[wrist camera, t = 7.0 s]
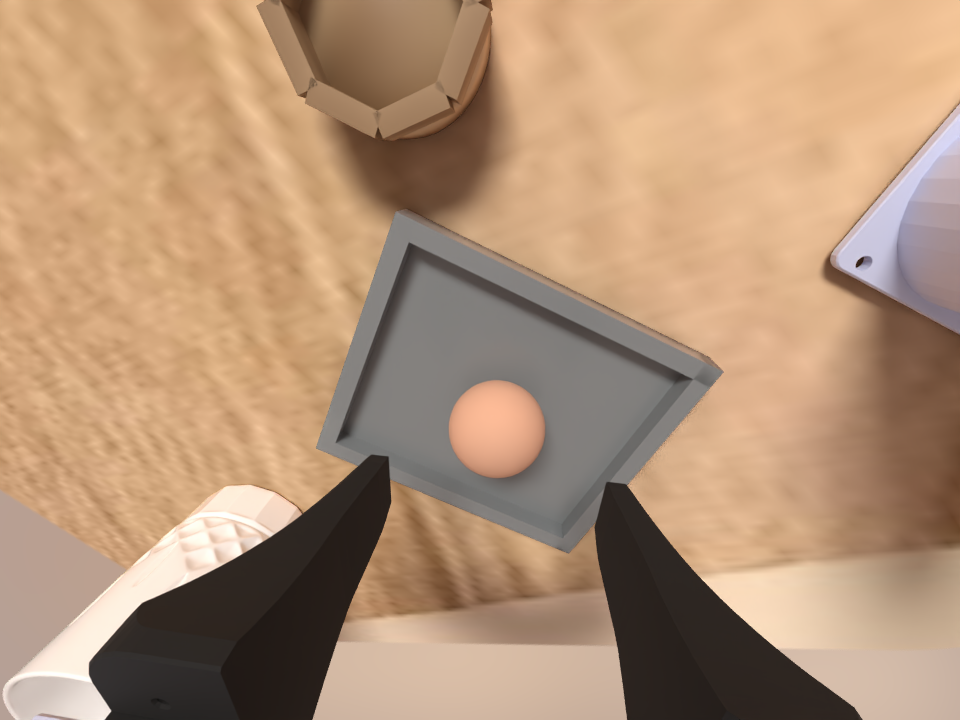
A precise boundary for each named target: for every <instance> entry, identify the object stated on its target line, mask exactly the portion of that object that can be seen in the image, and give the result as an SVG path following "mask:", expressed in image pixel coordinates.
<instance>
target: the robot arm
mask: <svg viewBox="0 0 960 720" xmlns="http://www.w3.org/2000/svg"><path fill="white" fill-rule="evenodd" d="M861 257H864V261H863V263H862V264H861V265H860V266H859V267H857V268H856V263H857V261H858V260H859V259H860V258H861ZM830 262H831V265H832V266H833V267H834V268H836V269H838V270H840V271H842V272H844V273H845V274H847V275H849V276H851V277H853V278H855V279H857V280H858V281H860V282H862V283H864V284H866V285H868V286H870V287H872V288H873V289H875V290H877V291H879V292H881V293H883V294H885V295H886V296H888V297H890V298H892V299H894V300H896V301H898V302H899V303H901V304H903V305H905V306H907V307H909V308H911V309H913V310H914V311H916V312H918V313H920V314H922V315H924V316H926V317H927V318H929V319H931V320H933V321H935V322H937V323H939V324H940V325H942V326H944V327H946V328H948V329H950V330H952V331H954V332H955V333H957V334H959V335H960V104H959V105H958V106H957V107H956V109H955V110H954V111H953V112H952V113H951V114H950V116H949V117H948V118H947V119H946V120H945V121H944V123H943V124H942V125H941V126H940V127H939V128H938V130H937V131H936V132H935V133H934V134H933V135H932V137H931V138H930V139H929V140H928V141H927V142H926V143H925V145H924V146H923V147H922V148H921V149H920V150H919V152H918V153H917V154H916V155H915V156H914V157H913V159H912V160H911V161H910V162H909V163H908V164H907V166H906V167H905V168H904V169H903V170H902V171H901V173H900V174H899V175H898V176H897V177H896V178H895V180H894V181H893V182H892V183H891V184H890V185H889V187H888V188H887V189H886V190H885V191H884V192H883V193H882V195H881V196H880V197H879V198H878V199H877V200H876V202H875V203H874V204H873V205H872V206H871V207H870V209H869V210H868V211H867V212H866V213H865V214H864V216H863V217H862V218H861V219H860V220H859V221H858V223H857V224H856V225H855V226H854V227H853V228H852V230H851V231H850V232H849V233H848V234H847V235H846V236H845V238H844V239H843V240H842V241H841V242H840V243H839V245H838V246H837V247H836V248H835V249H834V251H833V252H832V254H831V258H830ZM390 504H391V488H390V469H389V456H381V455H372V454H371V455H370V456H368V457H367V458H366V459H365V460H364V461H363V462H362V463H361V464H360V465H359V466H358V467H357V468H356V469H354V470H353V471H352V472H351V473H350V474H349V475H348V476H347V477H346V478H345V479H344V480H343V481H341V482H340V483H339V484H338V485H337V486H336V487H335V488H333V489H332V490H331V491H330V492H329V493H328V494H327V495H325V496H324V497H323V498H322V499H321V500H319V501H318V502H317V503H316V504H314V505H313V506H312V507H311V508H309V509H308V510H307V511H306V512H304V513H303V514H302V515H301V516H299V517H298V518H297V519H295V520H294V521H293V522H291V523H290V524H288V525H287V526H286V527H284V528H283V529H281V530H280V531H278V532H277V533H275V534H274V535H273V536H271V537H269V538H268V539H266V540H265V541H263V542H261V543H260V544H258V545H256V546H255V547H253V548H251V549H250V550H248V551H246V552H245V553H243V554H241V555H240V556H238V557H236V558H235V559H233V560H231V561H229V562H227V563H225V564H223V565H222V566H220V567H218V568H216V569H214V570H212V571H210V572H208V573H206V574H204V575H202V576H200V577H198V578H196V579H194V580H192V581H190V582H188V583H186V584H183V585H181V586H179V587H177V588H174V589H172V590H170V591H168V592H165V593H163V594H161V595H159V596H156V597H154V598H152V599H150V600H147V601H145V602H142V603H141V604H140V605H139V606H138V607H137V608H136V610H135V611H134V612H133V613H132V614H131V615H130V616H129V617H128V618H127V619H126V620H125V621H124V622H123V624H122V625H121V626H120V627H119V628H118V629H117V630H116V632H115V633H114V634H113V635H112V636H111V637H110V638H109V639H108V641H107V642H106V643H105V644H104V645H103V646H102V647H101V649H100V650H99V651H98V652H97V653H96V654H95V655H94V656H93V658H92V659H91V660H90V662H89V676H90V679H91V681H92V683H93V684H94V686H95V687H96V689H97V690H98V692H99V693H100V695H101V696H102V698H103V699H104V701H105V702H106V704H107V705H108V707H109V708H110V710H111V712H110V713H109V715H108V716H107V717H106V719H105V720H312V719H313V715H314V713H315V709H316V706H317V702H318V699H319V696H320V693H321V690H322V687H323V683H324V680H325V677H326V674H327V671H328V668H329V665H330V661H331V658H332V655H333V652H334V649H335V646H336V643H337V640H338V637H339V634H340V631H341V628H342V625H343V623H344V620H345V617H346V614H347V611H348V608H349V606H350V603H351V601H352V598H353V596H354V594H355V591H356V589H357V587H358V585H359V582H360V580H361V578H362V576H363V573H364V571H365V569H366V567H367V565H368V562H369V560H370V558H371V556H372V553H373V551H374V549H375V547H376V544H377V542H378V540H379V537H380V535H381V533H382V530H383V527H384V524H385V521H386V518H387V514H388V511H389V508H390ZM595 536H596V546H597V554H598V561H599V566H600V570H601V575H602V579H603V583H604V588H605V592H606V596H607V601H608V605H609V610H610V614H611V618H612V623H613V627H614V631H615V636H616V641H617V647H618V653H619V660H620V667H621V674H622V682H623V689H624V697H625V705H626V713H627V720H862V718H861V717H860V715H859V714H858V712H857V711H856V710H855V708H854V707H853V706H851V705H850V704H849V703H847V702H846V701H845V700H843V699H842V698H841V697H839V696H838V695H836V694H835V693H834V692H832V691H831V690H830V689H828V688H827V687H826V686H824V685H823V684H822V683H820V682H819V681H817V680H816V679H815V678H813V677H812V676H811V675H809V674H808V673H807V672H805V671H804V670H803V669H801V668H800V667H799V666H798V665H796V664H795V663H794V662H793V661H791V660H790V659H789V658H787V657H786V656H785V655H784V654H783V653H781V652H780V651H779V650H778V649H776V648H775V647H774V646H773V645H772V644H770V643H769V642H768V641H767V640H766V639H764V638H763V637H762V636H761V635H760V634H759V633H757V632H756V631H755V630H754V629H753V628H752V627H751V626H750V625H748V624H747V623H746V622H745V621H744V620H743V619H742V618H741V617H740V616H739V615H737V614H736V613H735V612H734V611H733V610H732V609H731V608H730V607H729V606H728V605H727V604H726V603H725V602H724V601H723V600H721V599H720V598H719V597H718V596H717V594H716V593H715V592H714V591H713V590H712V589H711V588H710V587H709V586H708V585H707V584H706V583H705V582H704V581H703V580H702V579H701V578H700V577H699V576H698V575H697V574H696V573H695V572H694V571H693V570H692V568H691V567H690V566H689V565H688V564H687V563H686V562H685V560H684V559H683V558H682V557H681V556H680V555H679V553H678V552H677V551H676V550H675V549H674V547H673V546H672V545H671V544H670V542H669V541H668V540H667V539H666V537H665V536H664V535H663V534H662V532H661V531H660V530H659V528H658V527H657V526H656V525H655V523H654V522H653V521H652V519H651V518H650V517H649V515H648V514H647V513H646V511H645V510H644V508H643V507H642V506H641V504H640V503H639V501H638V500H637V499H636V497H635V496H634V495H633V493H632V492H631V490H630V489H629V488H628V486H627V485H626V484H623V483H614V482H606V485H605V489H604V493H603V497H602V500H601V504H600V508H599V512H598V516H597V520H596V524H595ZM32 720H79V719H73V718H67V717H61V716H55V715H50V714H44V713H41V714H38V715H36V716H34V718H33V719H32Z"/></svg>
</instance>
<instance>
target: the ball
mask: <svg viewBox="0 0 960 720" xmlns="http://www.w3.org/2000/svg"><path fill="white" fill-rule="evenodd" d="M449 438H450V442H451V445H452V448H453V450H454V452H455V454H456V455H457V457H458V459H459V460H460V461H461V462H462V463H463V464H464V465H465V466H466V467H467V468H468V469H470V470H471V471H473V472H475V473H477V474H479V475H482V476H485V477H489V478H505V477H510V476H513V475H516V474H518V473H520V472H522V471H523V470H525V469H526V468H527V467H529V466H530V465H531V464H532V463H533V462H534V460H535V459H536V458H537V456H538V455H539V453H540V451H541V449H542V446H543V443H544V438H545V420H544V416H543V413H542V410H541V408H540V406H539V404H538V403H537V401H536V400H535V399H534V397H533V396H532V395H531V394H530V393H529V392H528V391H527V390H525V389H524V388H522V387H520V386H518V385H516V384H514V383H511V382H508V381H502V380H491V381H486V382H482V383H479V384H477V385H475V386H473V387H471V388H470V389H468V390H467V391H466V392H465V393H464V394H463V395H462V396H461V397H460V398H459V399H458V401H457V402H456V404H455V406H454V408H453V410H452V413H451V415H450V420H449Z"/></svg>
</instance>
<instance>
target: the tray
mask: <svg viewBox="0 0 960 720" xmlns="http://www.w3.org/2000/svg"><path fill="white" fill-rule="evenodd" d="M723 372H724V371H723V370H722V369H721V368H720V367H718V366H717V365H716V364H715V363H714V362H713V361H712V360H711V359H710V358H709V357H708V356H706V355H704V354H702V353H700V352H698V351H696V350H694V349H692V348H689V347H687V346H685V345H683V344H681V343H679V342H677V341H675V340H673V339H671V338H669V337H667V336H665V335H663V334H661V333H659V332H657V331H655V330H653V329H651V328H649V327H647V326H645V325H643V324H641V323H639V322H636V321H634V320H632V319H630V318H628V317H626V316H624V315H622V314H620V313H618V312H616V311H614V310H612V309H610V308H608V307H606V306H604V305H602V304H600V303H598V302H596V301H594V300H592V299H590V298H588V297H586V296H583V295H581V294H579V293H577V292H575V291H573V290H571V289H569V288H567V287H565V286H563V285H561V284H559V283H557V282H555V281H553V280H551V279H549V278H547V277H545V276H543V275H541V274H539V273H537V272H535V271H533V270H530V269H528V268H526V267H524V266H522V265H520V264H518V263H516V262H514V261H512V260H510V259H508V258H506V257H504V256H502V255H500V254H498V253H496V252H494V251H492V250H490V249H488V248H486V247H484V246H482V245H480V244H478V243H475V242H473V241H471V240H469V239H467V238H465V237H463V236H461V235H459V234H457V233H455V232H453V231H451V230H449V229H447V228H445V227H443V226H441V225H439V224H437V223H435V222H433V221H431V220H429V219H427V218H425V217H422V216H420V215H418V214H416V213H414V212H412V211H410V210H408V209H403V210H399V211H396V213H395V215H394V218H393V221H392V224H391V227H390V230H389V233H388V236H387V239H386V242H385V245H384V248H383V251H382V254H381V257H380V260H379V263H378V266H377V269H376V272H375V275H374V278H373V281H372V284H371V287H370V289H369V292H368V295H367V298H366V301H365V304H364V307H363V310H362V313H361V316H360V319H359V322H358V325H357V328H356V331H355V334H354V337H353V340H352V343H351V346H350V349H349V352H348V355H347V358H346V361H345V363H344V366H343V369H342V372H341V375H340V378H339V381H338V384H337V387H336V390H335V393H334V396H333V399H332V402H331V405H330V408H329V411H328V414H327V417H326V420H325V423H324V426H323V429H322V432H321V435H320V437H319V440H318V443H317V446H316V449H319V450H321V451H323V452H326V453H328V454H331V455H333V456H335V457H338V458H340V459H343V460H345V461H347V462H350V463H352V464H355V465H357V466H359V465H360V464H361V463H362V462H363V461H364V460H365V459H366V458H367V457H368V456H370V455H371V454H372V455H381V456H389V469H390V479H391V480H393V481H396V482H398V483H400V484H403V485H405V486H408V487H410V488H412V489H415V490H417V491H420V492H422V493H424V494H427V495H429V496H432V497H434V498H436V499H439V500H441V501H444V502H446V503H448V504H451V505H453V506H456V507H458V508H460V509H463V510H465V511H468V512H470V513H472V514H475V515H477V516H480V517H482V518H485V519H487V520H489V521H492V522H494V523H497V524H499V525H501V526H504V527H506V528H509V529H511V530H513V531H516V532H518V533H521V534H523V535H525V536H528V537H530V538H533V539H535V540H537V541H540V542H542V543H545V544H547V545H549V546H552V547H554V548H557V549H559V550H561V551H564V552H566V553H570V552H571V550H572V549H573V548H574V547H575V546H576V544H577V543H578V542H579V541H580V540H581V539H582V537H583V536H584V535H585V534H586V533H587V532H588V530H589V529H590V528H591V527H592V526H593V525H594V523H595V522H596V520H597V516H598V512H599V508H600V504H601V500H602V497H603V493H604V489H605V485H606V482H614V483H623V484H626V485H628V484H629V482H630V481H631V480H632V479H633V478H634V476H635V475H636V474H637V473H638V472H639V471H640V469H641V468H642V467H643V466H644V465H645V464H646V462H647V461H648V460H649V459H650V458H651V457H652V455H653V454H654V453H655V452H656V451H657V450H658V448H659V447H660V446H661V445H662V444H663V442H664V441H665V440H666V439H667V438H668V437H669V435H670V434H671V433H672V432H673V431H674V430H675V428H676V427H677V426H678V425H679V424H680V423H681V421H682V420H683V419H684V418H685V417H686V416H687V414H688V413H689V412H690V411H691V410H692V408H693V407H694V406H695V405H696V404H697V403H698V401H699V400H700V399H701V398H702V397H703V396H704V394H705V393H706V392H707V391H708V390H709V389H710V387H711V386H712V385H713V384H714V383H715V382H716V380H717V379H718V378H719V377H720V376H721V374H722V373H723ZM491 380H502V381H508V382H511V383H514V384H516V385H518V386H520V387H522V388H524V389H525V390H527V391H528V392H529V393H530V394H531V395H532V396H533V397H534V399H535V400H536V401H537V403H538V404H539V406H540V408H541V410H542V413H543V416H544V420H545V438H544V443H543V446H542V449H541V451H540V453H539V455H538V456H537V458H536V459H535V460H534V462H533V463H532V464H531V465H530V466H529V467H527V468H526V469H525V470H523V471H522V472H520V473H518V474H516V475H513V476H510V477H505V478H489V477H485V476H482V475H479V474H477V473H475V472H473V471H471V470H470V469H468V468H467V467H466V466H465V465H464V464H463V463H462V462H461V461H460V460H459V459H458V457H457V455H456V454H455V452H454V450H453V448H452V445H451V442H450V438H449V420H450V415H451V413H452V410H453V408H454V406H455V404H456V402H457V401H458V399H459V398H460V397H461V396H462V395H463V394H464V393H465V392H466V391H467V390H468V389H470V388H471V387H473V386H475V385H477V384H479V383H482V382H486V381H491Z"/></svg>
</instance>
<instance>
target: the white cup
mask: <svg viewBox="0 0 960 720" xmlns="http://www.w3.org/2000/svg"><path fill="white" fill-rule="evenodd" d="M301 515H302V513H301V512H300V510H299V509H298V507H296V506H295V505H294V504H292V503H291V502H289V501H288V500H286V499H285V498H283V497H282V496H280V495H279V494H277V493H276V492H273V491H270V490H266V489H263V488H260V487H256V486H253V485H235V486H226V487H224V488H222V489H221V490H219V491H217V492H216V493H214V494H212V495H211V496H209V497H208V498H207V499H206V500H205V501H204V502H203V503H202V504H201V505H200V506H199V507H198V508H197V509H195V510H194V511H193V512H192V513H191V514H190V515H189V516H188V517H187V518H186V519H185V520H184V521H183V522H182V523H181V524H179V525H177V526H176V527H175V528H173V529H172V530H171V531H170V532H169V533H167V534H166V535H165V536H164V537H163V538H162V539H161V540H160V541H159V542H158V543H156V544H155V546H154V547H153V548H152V549H150V550H149V551H148V552H147V553H146V554H145V555H143V556H142V557H141V558H140V559H139V560H138V561H137V562H136V563H135V564H133V565H132V566H131V567H130V568H129V569H128V570H127V571H125V572H124V573H123V574H122V575H121V576H120V577H119V578H118V579H117V580H116V581H115V582H113V583H112V585H110V586H109V587H108V588H107V589H106V590H105V591H104V592H103V593H102V594H101V595H100V596H99V597H98V598H96V599H95V600H94V601H93V602H92V603H91V604H90V605H89V606H88V607H87V608H86V609H85V610H84V611H83V612H82V613H81V614H79V615H78V616H77V617H76V618H75V619H74V620H73V621H72V622H71V623H70V624H69V625H68V626H67V627H66V628H65V629H64V630H63V631H62V632H61V633H59V634H58V635H57V636H56V637H55V638H54V639H53V640H52V641H51V642H50V643H49V644H48V645H46V646H45V647H44V648H43V649H42V650H41V651H40V652H39V653H38V654H37V655H36V656H35V657H34V658H33V659H31V660H30V661H29V662H28V663H27V664H26V665H25V666H24V667H23V668H22V669H21V670H20V671H19V672H17V673H16V674H15V675H14V676H13V677H12V678H11V679H10V680H9V681H8V682H7V683H6V685H5V686H4V689H3V700H4V703H5V705H6V707H7V709H8V711H9V712H10V714H11V715H12V716H13V717H14V718H15V720H32V719H33V718H34V716H36V715H38V714H41V713H44V714H50V715H55V716H61V717H67V718H73V719H79V720H105V719H106V717H107V716H108V715H109V713H110V712H111V710H110V708H109V707H108V705H107V704H106V702H105V701H104V699H103V698H102V696H101V695H100V693H99V692H98V690H97V689H96V687H95V686H94V684H93V683H92V681H91V679H90V676H89V662H90V660H91V659H92V658H93V656H94V655H95V654H96V653H97V652H98V651H99V650H100V649H101V647H102V646H103V645H104V644H105V643H106V642H107V641H108V639H109V638H110V637H111V636H112V635H113V634H114V633H115V632H116V630H117V629H118V628H119V627H120V626H121V625H122V624H123V622H124V621H125V620H126V619H127V618H128V617H129V616H130V615H131V614H132V613H133V612H134V611H135V610H136V608H137V607H138V606H139V605H140V604H141V603H142V602H145V601H147V600H150V599H152V598H154V597H156V596H159V595H161V594H163V593H165V592H168V591H170V590H172V589H174V588H177V587H179V586H181V585H183V584H186V583H188V582H190V581H192V580H194V579H196V578H198V577H200V576H202V575H204V574H206V573H208V572H210V571H212V570H214V569H216V568H218V567H220V566H222V565H223V564H225V563H227V562H229V561H231V560H233V559H235V558H236V557H238V556H240V555H241V554H243V553H245V552H246V551H248V550H250V549H251V548H253V547H255V546H256V545H258V544H260V543H261V542H263V541H265V540H266V539H268V538H269V537H271V536H273V535H274V534H275V533H277V532H278V531H280V530H281V529H283V528H284V527H286V526H287V525H288V524H290V523H291V522H293V521H294V520H295V519H297V518H298V517H299V516H301Z"/></svg>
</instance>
